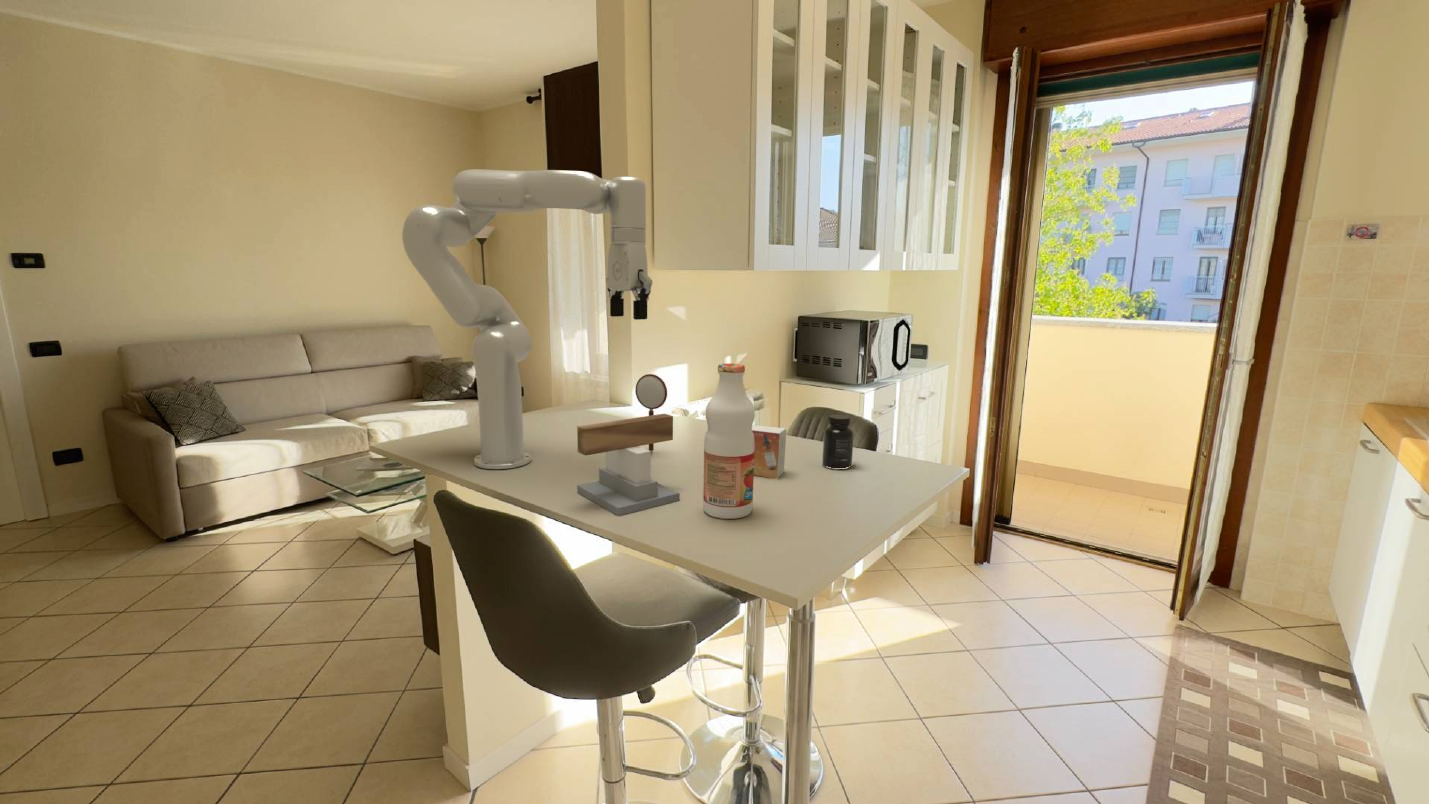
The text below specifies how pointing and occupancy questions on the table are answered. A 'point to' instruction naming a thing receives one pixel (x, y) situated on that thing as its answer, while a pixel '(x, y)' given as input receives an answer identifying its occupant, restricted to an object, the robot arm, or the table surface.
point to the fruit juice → (729, 447)
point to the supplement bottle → (838, 442)
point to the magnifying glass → (651, 394)
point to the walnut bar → (624, 434)
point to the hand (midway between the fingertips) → (628, 317)
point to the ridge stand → (627, 483)
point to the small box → (769, 451)
